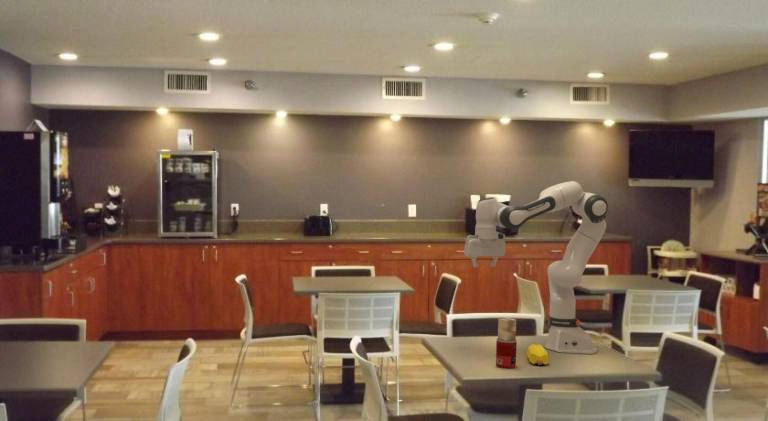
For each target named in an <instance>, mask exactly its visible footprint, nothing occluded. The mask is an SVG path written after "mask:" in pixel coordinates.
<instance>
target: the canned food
mask: <svg viewBox="0 0 768 421" xmlns="http://www.w3.org/2000/svg"><path fill="white" fill-rule="evenodd" d="M517 346H518V345H517V339H516V340H509V341H505V340H501V339H498V337H496V347H495V365H496V367H497V368H499V369H515V368H516V365H517Z"/></svg>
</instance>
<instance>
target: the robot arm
mask: <svg viewBox="0 0 768 421" xmlns="http://www.w3.org/2000/svg"><path fill="white" fill-rule="evenodd" d="M568 207H569V208H570V210H571V212H572V213H574V214H575V215H578V216H580V217H581V223H580V225H579V227H578V228H577V230H576V231H575V233H573V236H572V237H571V239H570V240H569V242H568V243H567V245H566V250H565V252H564V255H563V258H562V260H556V261H554V262H552V263H550V265H549V266H548V268H547V272H546V273H547V277H548V288H549V290H548V291H549V295H550V296H549V298H550V304H549V306H550V307H549V309H550V311H549V317H548V335H547V340H546V343H545V349H546V350H547V349H548V350H551V351H555V352H558V353H568V354H583V355H584V354H586V355H588V354H589V355H593V354H596V353H597V352H598V348H597V347H596V346H593V341H592V337H591V335H590V334H589V333H588V332H586V331H585V330H584V329H583V328H581V327H580V324H581V321H580V319H579V318H577V317H576V305H577V302H576V301H577V300H576V297H575V291H574V288H576V287H577V286H579V285H580V284H581V281H582V279H583V273H584V271H585V269H586V267H587V265H588V262H589V260H590V258H591V256H592V254H594V251H595V250H596V248H597V246H598V245H599V243H600V241H601V240H602V238H603V236H604V234H605V232H606V228H607V222H606V221H605V219H606V217H607V213H608V211H609V210H608V209H609V204H608V202H607V200H606V199H605V197H603V196H602V195H599V194H596V193H593V192H586V191H583V188H582V186H581V184H580V183H579V182H577V181H574V180H571V181H565V182H561V183H557V184H554V185H552V186H549V187H547V188H544V190H542V191H541V192H540V193H539V196H538V198H537V199H536V200H534V201H532V202H530V203H526V204H525V205H522V206H518V205H507V204H504V203H502V202H500V201H498V200H497V199H496V198H495V197H491V196H490V197H485V198H480V199H479V200H477V203H476V210H475V221H476V224H475V229H474V230H475V232H474V233H475V234H473V235H472V234H468V235H467V236H466V237H465V241H464V242H465V244H464V250H463V254H464V255H463V256H465V257H469V258H470V259H471V262H472V266H473V268H479V263H478V262H477V258H478V257H479V258H480V257H492V262H490V267H493V268H494V267H496V266H497V264H496V263H497V261H498V260H499V257H504V256H505V255H506V241H505V239H506V234H504V233H502V232H499V231H497V226H498V227H499V228H503V229H508V230H512V231H515V230H517V229H520V228H521V227H522V226H524V224H525V223H527V222H528V221H529V220H532V219H534V218H536V217H538V216H541V215H543V214H546V213H552V212H553V213H554V212H558V211H560V210H561V211H562V210H563V209H566V208H568Z"/></svg>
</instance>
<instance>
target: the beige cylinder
mask: <svg viewBox="0 0 768 421" xmlns="http://www.w3.org/2000/svg"><path fill="white" fill-rule="evenodd" d="M497 338H498V339H501V340H505V341H509V340H516V341H517V339H516V338H517V319H513V318H510V317H503V318H498V320H497Z"/></svg>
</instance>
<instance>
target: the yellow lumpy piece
mask: <svg viewBox="0 0 768 421" xmlns="http://www.w3.org/2000/svg"><path fill="white" fill-rule="evenodd" d="M526 356H527V357H528V361H529V363H531V364H532V365H533V366H534V365H536V364H537V365H538V366H542V365H543V366H547V365H548V363H549V362H550V360H549V354H548V351H547V349H546V348H544V347H543V346H542V345H541V344H533V343H532V344H530V345H529V346H528V348H527V352H526Z"/></svg>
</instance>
